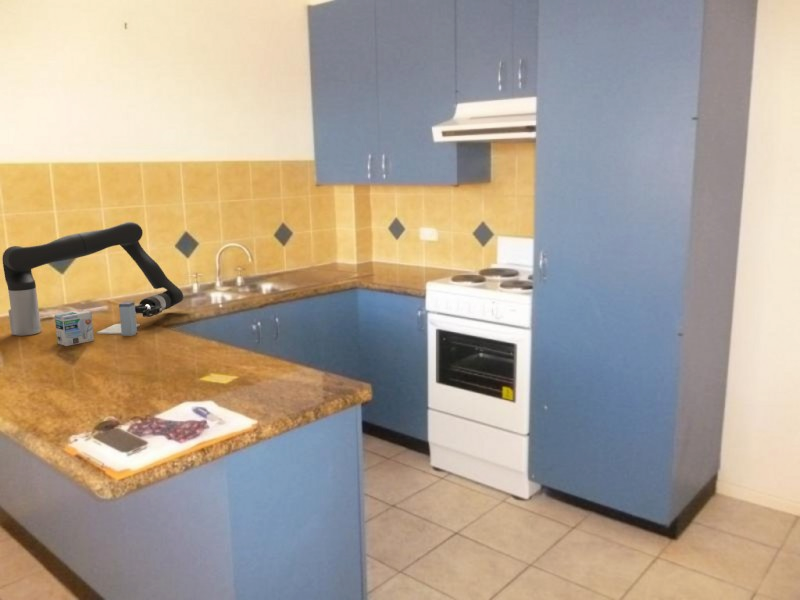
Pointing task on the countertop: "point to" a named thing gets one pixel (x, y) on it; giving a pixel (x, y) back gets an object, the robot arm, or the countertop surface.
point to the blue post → (128, 318)
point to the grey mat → (113, 329)
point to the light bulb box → (74, 327)
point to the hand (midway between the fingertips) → (132, 314)
